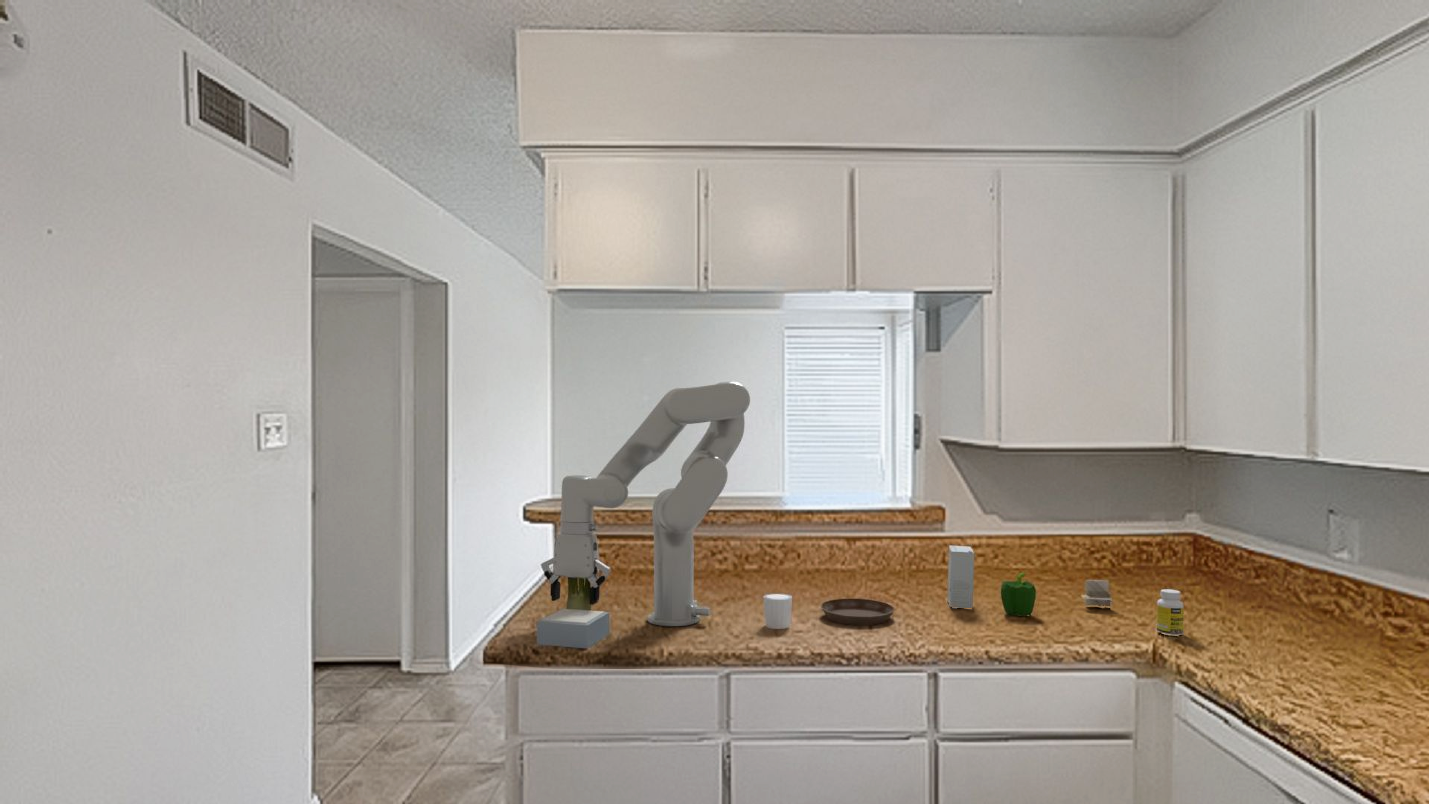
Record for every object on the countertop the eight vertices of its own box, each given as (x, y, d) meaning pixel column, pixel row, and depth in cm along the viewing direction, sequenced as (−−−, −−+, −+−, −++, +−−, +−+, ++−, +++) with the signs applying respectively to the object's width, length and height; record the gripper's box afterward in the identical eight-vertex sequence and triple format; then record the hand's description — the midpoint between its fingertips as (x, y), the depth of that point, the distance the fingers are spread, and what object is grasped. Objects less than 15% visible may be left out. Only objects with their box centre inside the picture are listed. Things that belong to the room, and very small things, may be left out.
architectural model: (1112, 613, 229) (1113, 583, 229) (1083, 612, 230) (1083, 582, 230) (1109, 610, 232) (1109, 580, 232) (1080, 609, 233) (1080, 579, 233)
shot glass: (762, 622, 218) (762, 592, 218) (791, 622, 218) (791, 593, 218) (763, 629, 211) (763, 599, 211) (793, 629, 211) (793, 599, 211)
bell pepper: (1018, 620, 220) (1018, 578, 220) (994, 612, 227) (994, 572, 227) (1044, 616, 223) (1044, 575, 223) (1019, 609, 231) (1020, 569, 231)
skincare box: (947, 601, 240) (947, 545, 239) (970, 602, 239) (971, 545, 239) (950, 609, 231) (950, 550, 231) (974, 609, 230) (974, 551, 230)
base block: (609, 634, 207) (609, 611, 207) (587, 648, 195) (587, 623, 195) (560, 630, 210) (560, 607, 210) (536, 644, 198) (536, 620, 198)
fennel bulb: (593, 626, 214) (593, 575, 214) (576, 630, 210) (576, 578, 210) (579, 622, 218) (579, 572, 218) (561, 625, 214) (561, 574, 214)
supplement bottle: (1171, 638, 203) (1171, 594, 203) (1151, 632, 208) (1151, 589, 208) (1188, 635, 206) (1189, 592, 206) (1168, 630, 211) (1168, 587, 211)
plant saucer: (905, 626, 215) (905, 613, 215) (832, 629, 212) (832, 616, 212) (879, 609, 232) (879, 597, 232) (812, 611, 230) (812, 599, 230)
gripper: (617, 529, 215) (615, 601, 215) (550, 524, 220) (548, 595, 220) (604, 533, 208) (602, 608, 208) (535, 528, 213) (533, 601, 213)
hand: (574, 601), depth 214 cm, fingers open, 9 cm apart
